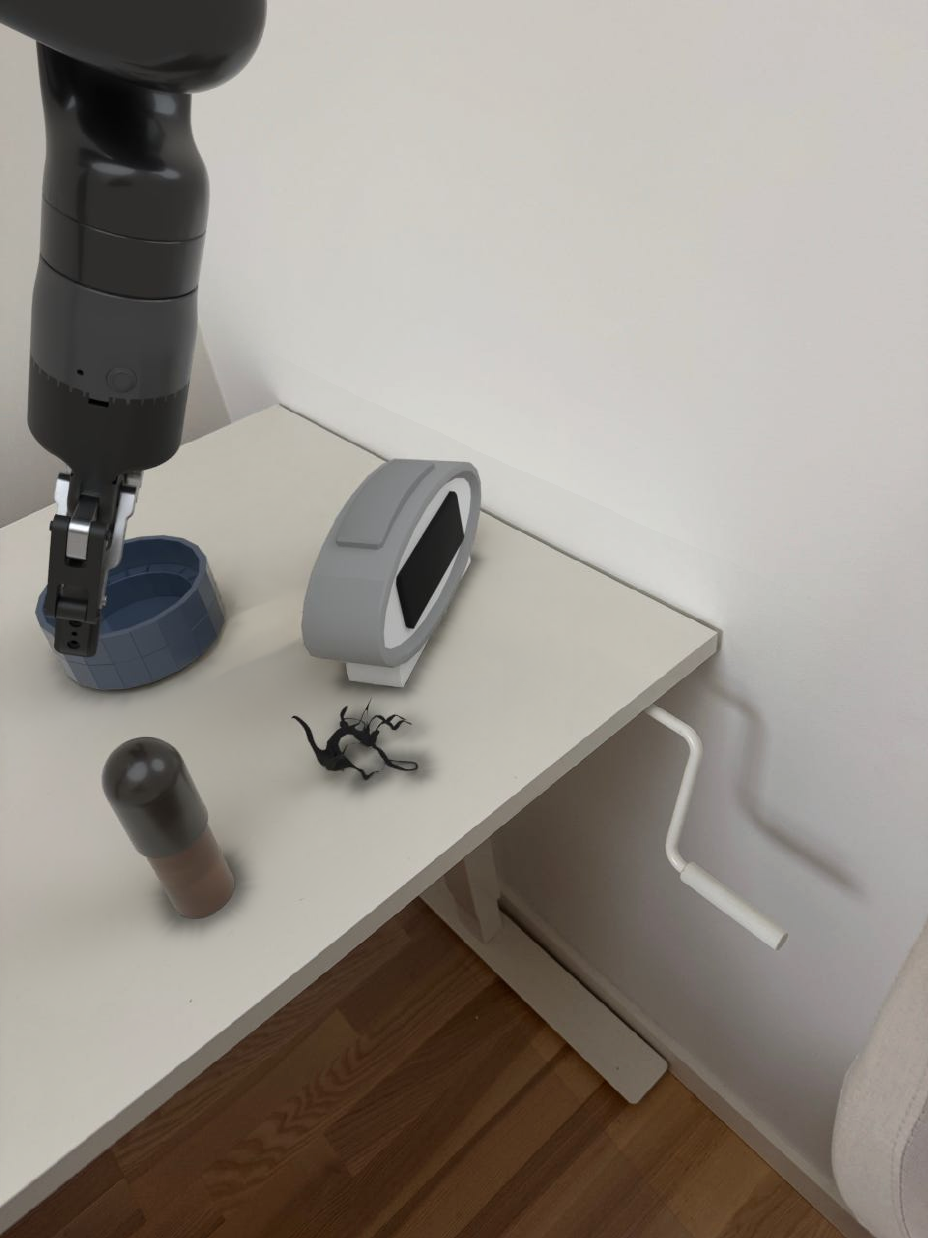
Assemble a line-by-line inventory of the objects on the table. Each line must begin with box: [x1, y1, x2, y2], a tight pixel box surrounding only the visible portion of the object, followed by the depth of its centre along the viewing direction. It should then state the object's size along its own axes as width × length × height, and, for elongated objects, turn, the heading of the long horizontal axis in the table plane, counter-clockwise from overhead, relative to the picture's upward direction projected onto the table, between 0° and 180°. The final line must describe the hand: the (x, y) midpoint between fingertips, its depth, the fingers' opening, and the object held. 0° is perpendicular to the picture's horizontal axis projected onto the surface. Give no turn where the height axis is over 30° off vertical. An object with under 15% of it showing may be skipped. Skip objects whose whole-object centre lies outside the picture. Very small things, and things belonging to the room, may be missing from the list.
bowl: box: [34, 534, 226, 691], centre depth 82 cm, size 14×14×6 cm
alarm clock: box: [300, 458, 482, 688], centre depth 76 cm, size 23×6×13 cm, turn 161°
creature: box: [290, 697, 419, 781], centre depth 67 cm, size 8×5×8 cm
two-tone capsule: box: [101, 736, 236, 919], centre depth 57 cm, size 5×5×13 cm
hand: (90, 603), depth 57 cm, fingers open, 8 cm apart
